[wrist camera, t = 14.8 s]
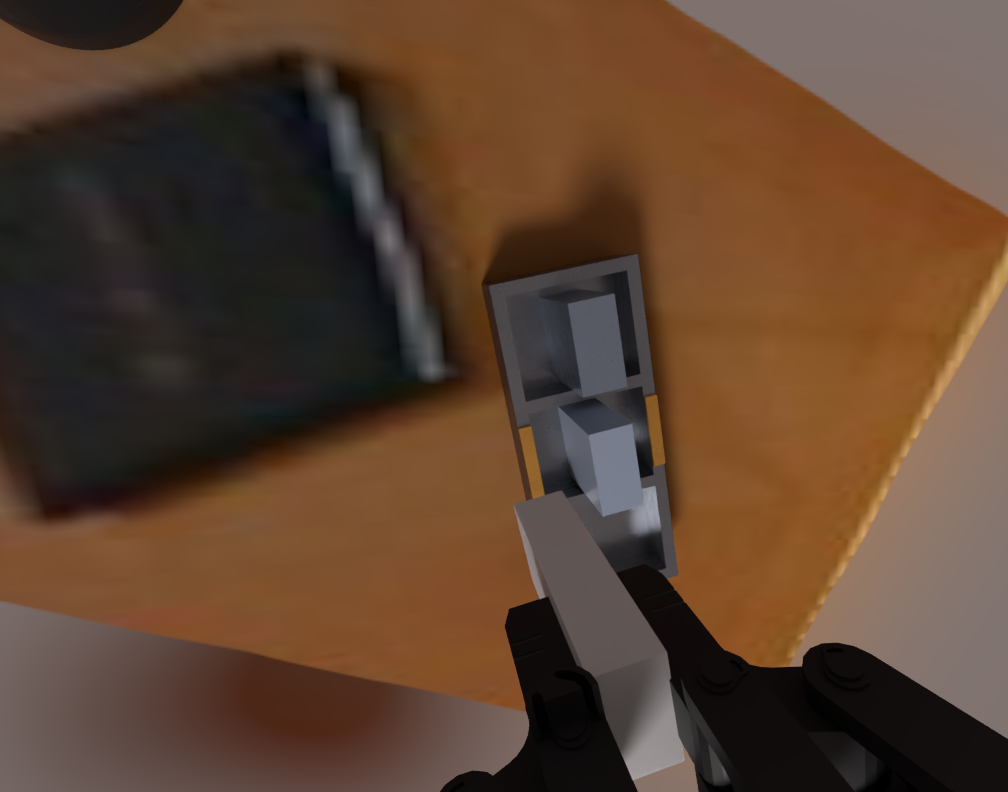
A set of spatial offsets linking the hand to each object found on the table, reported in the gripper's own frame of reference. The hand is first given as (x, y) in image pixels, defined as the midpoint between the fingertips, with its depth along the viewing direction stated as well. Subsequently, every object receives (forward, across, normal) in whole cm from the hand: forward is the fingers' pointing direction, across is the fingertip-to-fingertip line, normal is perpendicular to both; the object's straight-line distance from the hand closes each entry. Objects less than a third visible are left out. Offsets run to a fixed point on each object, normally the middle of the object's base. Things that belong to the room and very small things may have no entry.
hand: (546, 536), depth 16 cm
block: (+27, +8, -9) cm, 29 cm away
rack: (+28, +8, -9) cm, 30 cm away
